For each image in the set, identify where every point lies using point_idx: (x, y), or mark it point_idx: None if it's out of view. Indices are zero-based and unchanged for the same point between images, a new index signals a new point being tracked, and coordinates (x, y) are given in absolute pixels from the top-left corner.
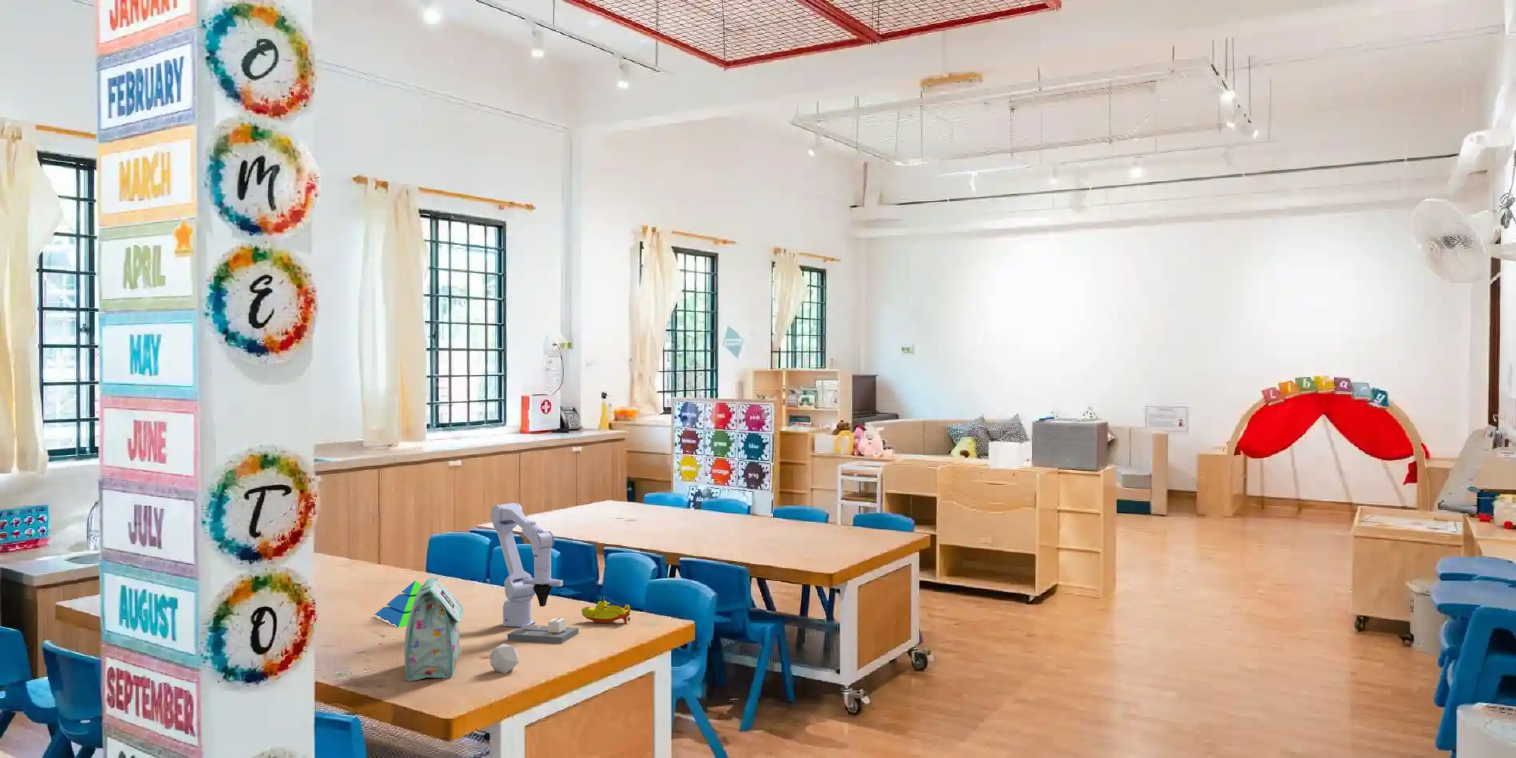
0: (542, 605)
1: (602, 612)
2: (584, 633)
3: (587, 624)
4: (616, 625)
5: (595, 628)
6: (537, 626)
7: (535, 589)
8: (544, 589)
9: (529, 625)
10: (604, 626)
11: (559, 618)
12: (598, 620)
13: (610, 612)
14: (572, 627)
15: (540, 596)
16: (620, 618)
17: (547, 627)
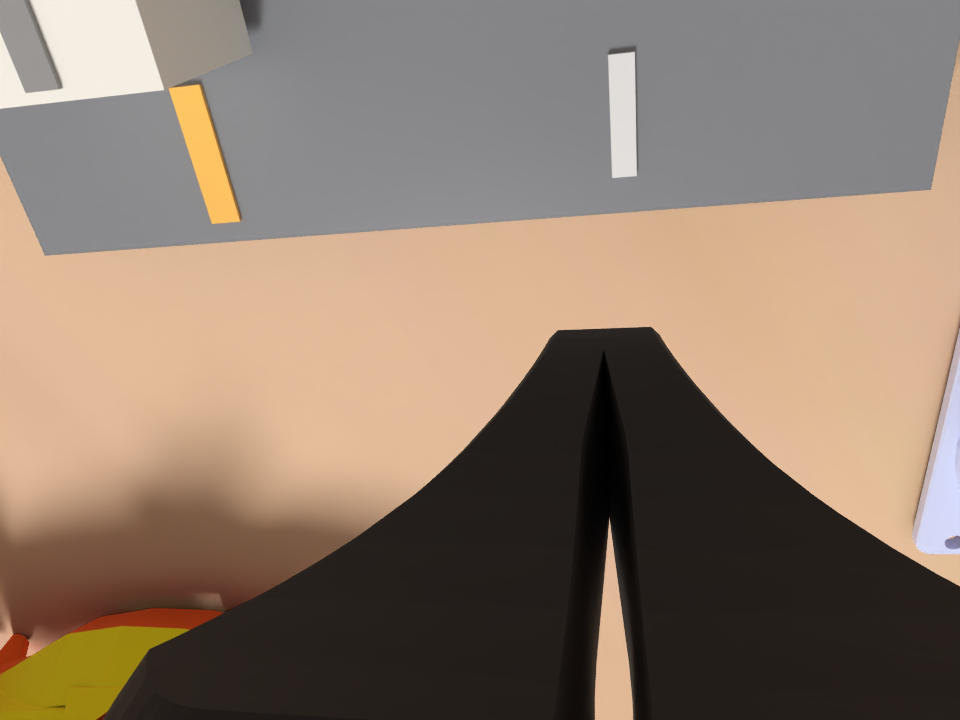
0: (566, 337)
1: (115, 692)
2: (37, 249)
3: (290, 558)
4: (26, 572)
5: (105, 454)
6: (667, 144)
7: (940, 681)
8: (163, 665)
9: (844, 165)
10: (90, 528)
11: (17, 46)
12: (198, 618)
13: (44, 700)
14: (122, 242)
15: (630, 496)
16: (15, 661)
17: (464, 134)
